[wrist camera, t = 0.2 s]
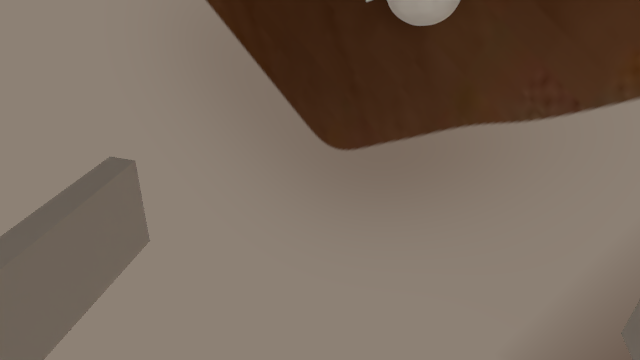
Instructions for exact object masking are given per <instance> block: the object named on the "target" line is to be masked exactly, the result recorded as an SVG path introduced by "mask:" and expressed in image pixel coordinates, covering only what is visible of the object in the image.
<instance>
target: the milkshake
mask: <svg viewBox="0 0 640 360" xmlns="http://www.w3.org/2000/svg"><path fill="white" fill-rule="evenodd" d="M370 1H373V0H365V2H370ZM460 1H461V0H387V2H388V5H389V7H390V9H391V10H392V12H393V13H394V14H395V15H396V16H397V17H398V18H400V19H401V20H403V21H404V22H406V23H408V24H411V25H415V26H427V25H433V24H436V23H439V22H441V21H443V20H444V19H446V18H447V17H449V16H450V15H451V14H452V13H453V12H454V10H455V9H456V7H457V6H458V4H459V2H460Z"/></svg>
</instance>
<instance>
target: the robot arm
mask: <svg viewBox="0 0 640 360" xmlns="http://www.w3.org/2000/svg"><path fill="white" fill-rule="evenodd" d="M149 241H150V240H149V235H148V230H147V224H146V218H145V213H144V207H143V202H142V196H141V191H140V185H139V180H138V174H137V169H136V163H135V161H133V160H127V159H121V158H115V157H109V158H107V159H106V160H105V161H103V162H102V163H101V164H99V165H98V166H96V167H95V168H94V169H92V170H91V171H90V172H88V173H87V174H85V175H84V176H83V177H82V178H80V179H79V180H77V181H76V182H75V183H73V184H72V185H70V186H69V187H68V188H66V189H65V190H64V191H62V192H61V193H60V194H58V195H57V196H55V197H54V198H53V199H51V200H50V201H48V202H47V203H46V204H44V205H43V206H42V207H41V208H39V209H38V210H36V211H35V212H33V213H32V214H31V215H29V216H28V217H27V218H25V219H24V220H23V221H21V222H20V223H18V224H17V225H16V226H14V227H13V228H11V229H10V230H9V231H7V232H6V233H5V234H3V235H2V236H1V237H0V360H44V359H45V357H46V356H47V355H48V354H49V353H50V352H51V351H52V350H53V349H54V347H55V346H56V345H57V344H58V343H59V342H60V341H61V340H62V339H63V337H64V336H65V335H66V334H67V333H68V332H69V331H70V330H71V328H72V327H73V326H74V325H75V324H76V323H77V322H78V321H79V320H80V318H81V317H82V316H83V315H84V314H85V313H86V312H87V311H88V309H89V308H90V307H91V306H92V305H93V304H94V303H95V302H96V301H97V299H98V298H99V297H100V296H101V295H102V294H103V293H104V292H105V290H106V289H107V288H108V287H109V286H110V285H111V284H112V283H113V281H114V280H115V279H116V278H117V277H118V276H119V275H120V274H121V273H122V271H123V270H124V269H125V268H126V267H127V266H128V265H129V264H130V262H131V261H132V260H133V259H134V258H135V257H136V256H137V255H138V254H139V252H140V251H141V250H142V249H143V248H144V247H145V246H146V245H147V243H148V242H149ZM621 334H622V336H623V339H624V341H625V343H626V346H627V348H628V350H629V353H630V355H631V357H632V360H640V300H639V302H638V304H637V306H636V307H635V309H634V311H633V313H632V315H631V316H630V318H629V320H628V322H627V324H626V326H625V327H624V329H623V331H622V333H621Z"/></svg>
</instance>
